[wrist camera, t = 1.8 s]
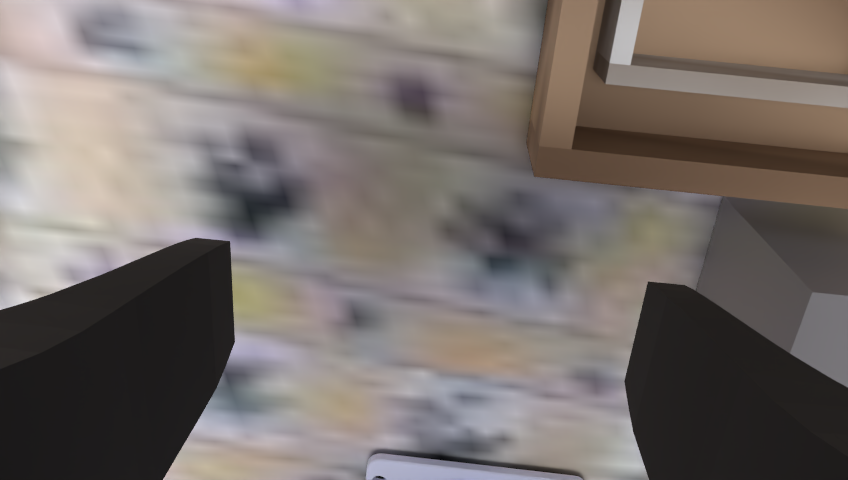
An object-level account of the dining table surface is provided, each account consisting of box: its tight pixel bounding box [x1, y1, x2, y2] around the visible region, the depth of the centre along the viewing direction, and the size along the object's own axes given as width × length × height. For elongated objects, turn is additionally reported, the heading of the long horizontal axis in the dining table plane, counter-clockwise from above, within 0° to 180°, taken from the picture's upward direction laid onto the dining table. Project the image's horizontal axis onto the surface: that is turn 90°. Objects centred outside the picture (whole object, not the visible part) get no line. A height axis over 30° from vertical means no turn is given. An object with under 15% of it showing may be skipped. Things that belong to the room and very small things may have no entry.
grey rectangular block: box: [696, 196, 848, 387], centre depth 19 cm, size 4×4×6 cm
